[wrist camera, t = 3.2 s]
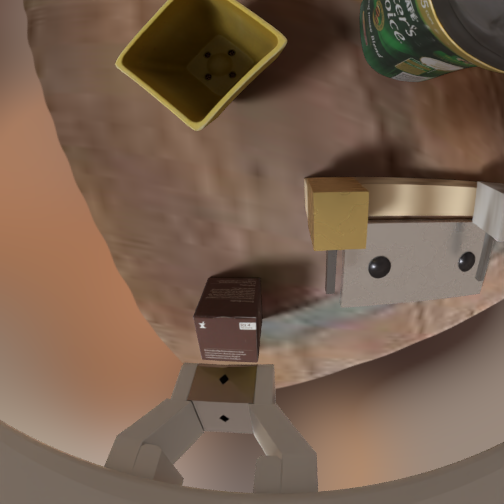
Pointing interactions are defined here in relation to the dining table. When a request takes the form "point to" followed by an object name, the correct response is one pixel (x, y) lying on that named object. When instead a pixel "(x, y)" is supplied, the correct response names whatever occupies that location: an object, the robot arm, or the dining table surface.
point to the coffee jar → (432, 36)
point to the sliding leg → (336, 218)
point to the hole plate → (413, 262)
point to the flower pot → (200, 56)
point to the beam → (439, 203)
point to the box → (229, 319)
